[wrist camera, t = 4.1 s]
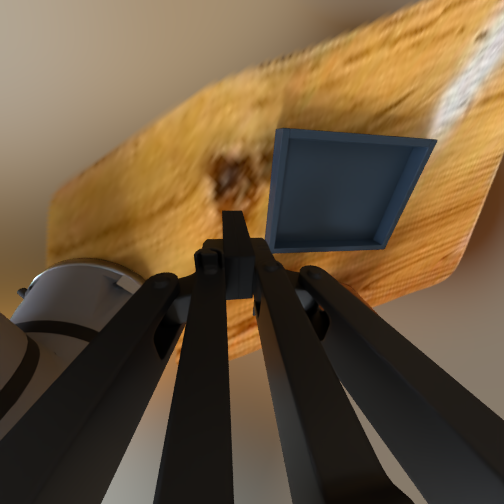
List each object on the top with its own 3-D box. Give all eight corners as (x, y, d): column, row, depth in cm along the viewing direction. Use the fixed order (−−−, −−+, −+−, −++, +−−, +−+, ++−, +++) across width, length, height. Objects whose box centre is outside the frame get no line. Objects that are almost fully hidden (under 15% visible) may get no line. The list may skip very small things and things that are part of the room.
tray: (264, 244, 28) (268, 253, 26) (275, 129, 20) (282, 127, 18) (372, 241, 31) (384, 249, 29) (417, 139, 23) (438, 139, 21)
